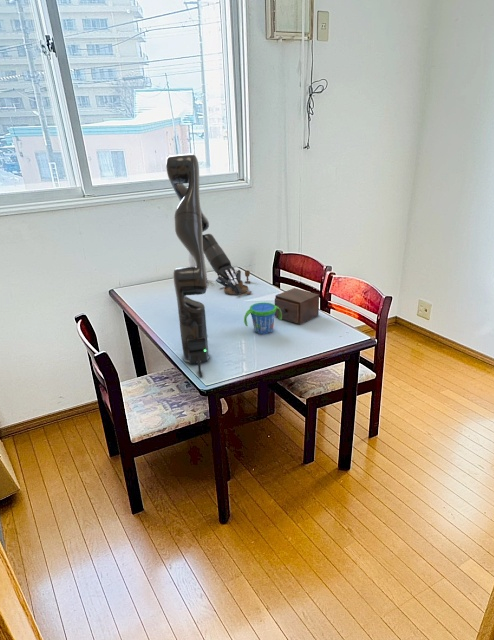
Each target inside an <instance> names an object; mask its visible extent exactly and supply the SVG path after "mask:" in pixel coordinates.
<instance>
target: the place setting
mask: <svg viewBox="0 0 494 640" xmlns="http://www.w3.org/2000/svg"><path fill="white" fill-rule="evenodd" d="M244 276H245V277H246V281H243V280H242V279H241V281H240V282H239V283H238V285H239V286H240V288H241V289H242V293H241V294H239V295H237V294H235V292H234V291H233V289H232V288H231V287H229V288H227V287H225V286H223V287H220V290H222V289H223V291H224V292H225V293H226V294H228V295H232V296H233V295H235V296H237V298H239V297H242V296H244V295H250V294H252V291H251V290H249V286H248V285H247V284H250V283H251V281H249V280H250V279H249V277H250V270H244ZM244 283H245V284H244ZM248 290H249V291H248Z"/></svg>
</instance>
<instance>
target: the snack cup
mask: <svg viewBox="0 0 494 640" xmlns="http://www.w3.org/2000/svg"><path fill="white" fill-rule="evenodd" d="M276 309H279V318H278V320H279V321H282V320H283V319H282V312H281V310H280V308H278V307H277V306H275V303H271V302H256V303H253V304H252V305H250V306H249V309H248V310H247V311H246V312H245V313H244V319H243V323H244V325H245V326H246V327H248V325H249V324H248V321H247V318H248V317H249V315H251V320H252V327H253V330H254V332H255V333H258V334H262V335H264V334H270V333H272V331H273V330H274V323H275V318H276V316H275V312H276Z"/></svg>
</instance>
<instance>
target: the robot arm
mask: <svg viewBox="0 0 494 640" xmlns="http://www.w3.org/2000/svg"><path fill="white" fill-rule="evenodd" d="M165 169H166V173H167V174H166V175H167V178H168V180H169V182H170V184H171V187H172V189H173V191H174V193H175V195H176V196H177V198H178V201H179V203H178V205H177V206H176V209H175V211H174V218H173V219H174V232H175V235H176V237H177V239H178V240H179V241H180V243H181V244H182V245H183V247H184V248H185V249H186V250H187V252H188V254H189V253H190V254H191V256H192V258H193V260H194V262H195V265H196V266H195V267H189V266H181V267H180V266H179V267H175V268H174V270H173V273H172V274H173V275H172V276H173V277H172V278H173V279H172V280H173V285H174V291H175V295H176V296H175V298H176V303H177V314H178V322H179V333H180V340H181V347H182V358H183V361H184V362H185V363H188V364H189V365H195V364H197V365H198V367H197V369H198V374H199V377H200V378H202V377H203V374H202V370H201V369H202V367H201V363H207V362H208V361H209V359H210V353H209V351H210V350H209V340H208V331H207V330H208V329H207V319H206V318H207V317H206V308H205V305H204V304H203V303H202V302H200V301H197V300H194V299H192V298H190V297H189V296H199V295H205V294H206V293H207V289H208V276H207V277H206V269H207V268H206V269H205V265H206V261H205V262H204V258H206V260H207V262H208V263H209V265H210V266H211V268H212V270H213V271H214V273H215V274H217V277H216V279H215V282H216V283H218V284H220V285H221V286H223V287H227V288H229V287H231V288H232V289H233V291H234V292H235V294H237V295H236V296H240V295H242V294H241V293H242V289H241V288H240V286H239V285H238V283H239V282H240V281H241V280H242V279H241V277H242V270H241V269H238V270H237V269H235V268H234V267H233V266H232V263H231V260H230V259H229V257H228V255H227V254H226V253H225V251H224V249H223V248H222V247H221V246H220V245H219V243H218V241H217V240H216V238H215V237H214V235H213V234H212V233H206V234H203V233H204V232H206V231H207V230H208V229H209V227H210V221H209V220H208V218H207V217H206V215H205V214H204V213H203V211H202V207H201V197H200V165H199V159H198V157H197V156H196V155H195V154H193V153H183V154H182V153H181V154H173V155H169V156H168V157H166V159H165ZM185 184H188V185H187V186H186V185H185ZM203 253H204V254H203Z"/></svg>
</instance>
